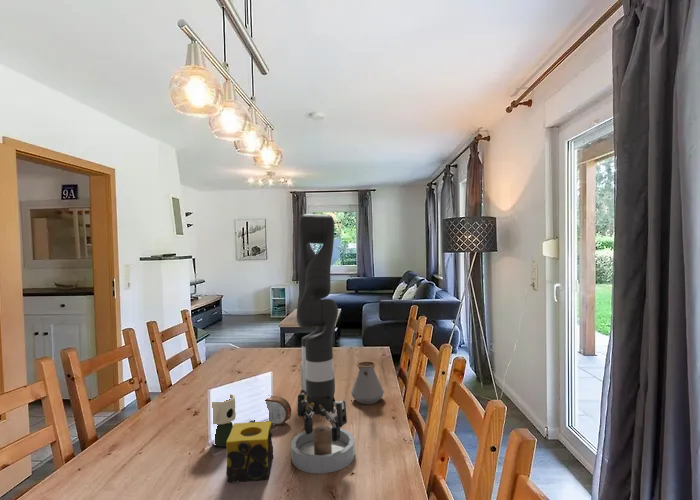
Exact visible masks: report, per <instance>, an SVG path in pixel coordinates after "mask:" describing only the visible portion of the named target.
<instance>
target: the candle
mask: <svg viewBox="0 0 700 500" xmlns="http://www.w3.org/2000/svg"><path fill="white" fill-rule="evenodd" d="M271 423H272V422H271V421H266V422H254V421H252V422H237V423H236V422H235V423H233V427H232V430H231V433H230V435H229V437H228V439H227V442H226V446H225V447H226V469H225V470H226V471H225V472H226V474H225V475H226V481H227V483H229V484H230V483H238V482H239V483H240V482H242V483H243V482H252V481H253V482H254V481H265V480H269V478H270V475H271V470H272V465H273V460H274V446H273V440H272V439H273V438H272V436H273V434H272V424H271Z"/></svg>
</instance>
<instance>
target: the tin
mask: <svg viewBox="0 0 700 500" xmlns="http://www.w3.org/2000/svg"><path fill="white" fill-rule="evenodd" d="M270 396H271V397H270V398H267V399H266V400H265V401H266V404H267V408H268V410H269V421H271V422H272V423H271V425H272V424H274V425H273V426H282V425H284V424H285V423H287V422H288V420H290V419H291V416H292V406H291V405H290V402H289V401H288V400H287V399H285V398H284V397H282V396H277V395H270Z"/></svg>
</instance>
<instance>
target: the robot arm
mask: <svg viewBox="0 0 700 500" xmlns="http://www.w3.org/2000/svg"><path fill="white" fill-rule="evenodd" d="M334 240H335V220H334V217H333V216H332V215H329V214H321V213H320V214H319V213H317V214H315V213H303V214H301V216H300V218H299V222H298V241H299V242H298V243H299V259H298V260H299V261H298V277H297V278H298V280H297V281H298V283H297V284H298V297H297V305H296V306H297V307H296V322H297V325H298V327H300V328H303V329H304V328H305V329H306V328H315V330H313V331H312V332H311V333H309V334H306V335H304V336H302V338H301V357H302V359H301V361H302V362H301V363H302V364H301V365H300V389H301V390H302V391H303V392H301V393H300V394H298V395H297V416H298V417H301V418H302V419H303V422H304V423H303V424H304V431H306V434H310V433H312V431H313V428H314V425H313V423H314V421H313V418H312V417H313V415H320V416H322V417H324V418H325V419H326V421H328V422H329V423H330V425H331V427H332V441H333V442H336V441H337V440H338V439H339V438H340V428H342V427H343V426H344V425H345V424H347V423H348V420H347V406H346V401H345V400H343V399H342V400H339V401H338V400H336V398H335V393H336V383H335V363H334V355H333V338H334V337H333V336H334V331H335V327H336V323H337V320H338V314H339V313H338V312H339V307H338V305H337V303H336V301H335V300H333V299H331V298H327V297H328V296H329V295H330V293H331V288H332V287H331V265H332V258H333V251H334V244H335V241H334ZM311 244H318V245H320V244H321V245H322V246H321V248H320V249H319V251H318V252H317V253H315V251H314V250H313V247H312V245H311Z"/></svg>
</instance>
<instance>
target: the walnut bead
mask: <svg viewBox="0 0 700 500" xmlns="http://www.w3.org/2000/svg"><path fill="white" fill-rule="evenodd" d="M330 427H331V426H328V425H317V426H316V427H313V428H314V430H313V431H314V454H315V455H327V454H331V453H332V442H331V428H330Z"/></svg>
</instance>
